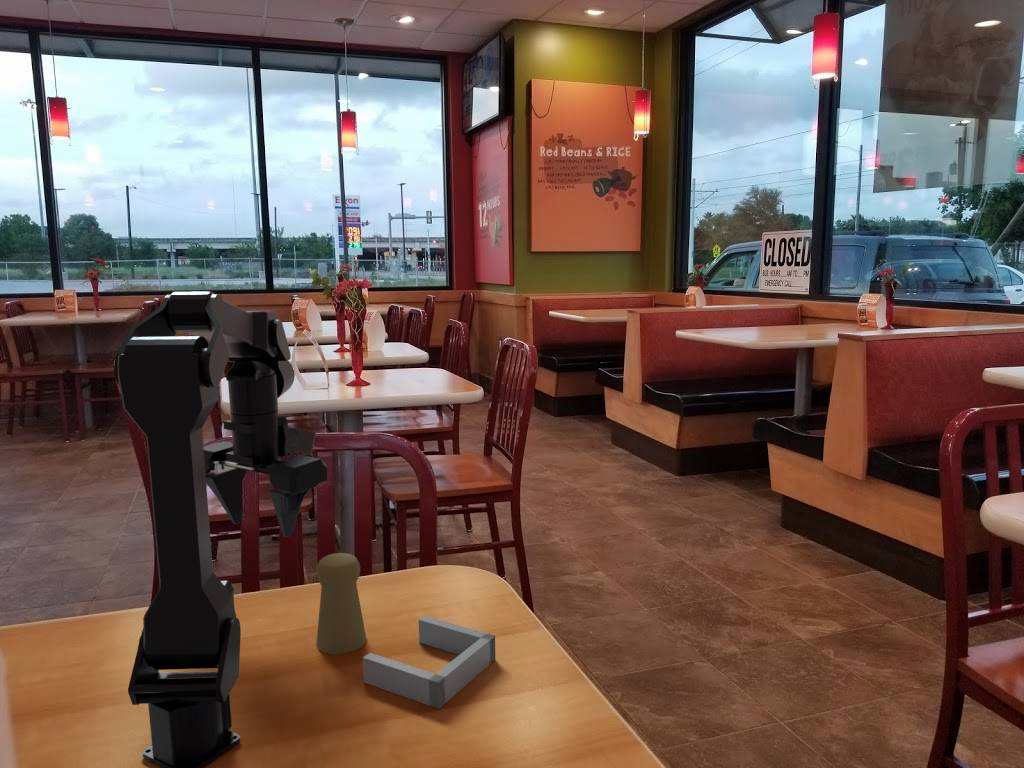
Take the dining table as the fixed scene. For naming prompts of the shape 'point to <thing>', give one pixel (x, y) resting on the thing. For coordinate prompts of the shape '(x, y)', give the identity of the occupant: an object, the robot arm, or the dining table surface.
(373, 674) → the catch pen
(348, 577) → the olive pawn
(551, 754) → the dining table surface
